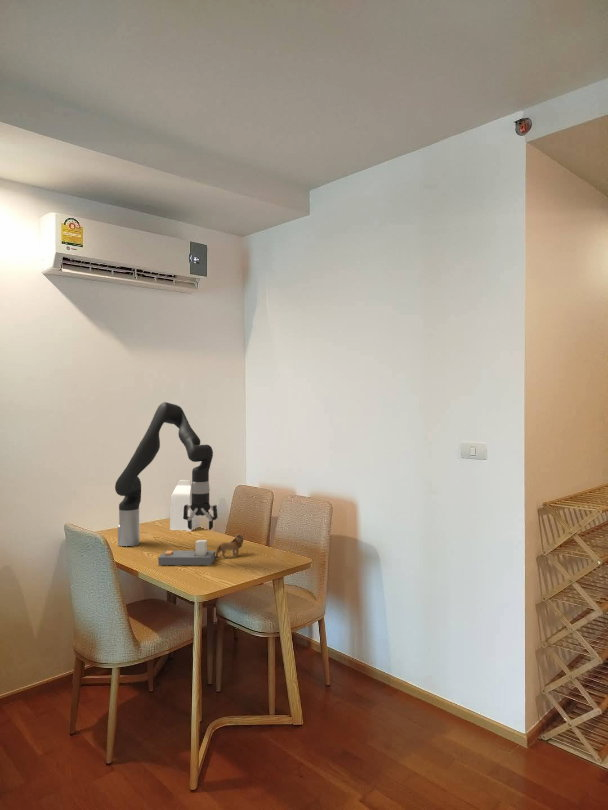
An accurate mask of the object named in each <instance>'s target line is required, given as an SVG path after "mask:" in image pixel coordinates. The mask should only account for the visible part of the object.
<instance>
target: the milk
mask: <svg viewBox="0 0 608 810" xmlns="http://www.w3.org/2000/svg"><path fill="white" fill-rule="evenodd" d="M186 504H187V505H191V504H192V480H190V479H188V480H187V479H180V480H178V482H177V484H176V486H175V488H174V490H173V492H172V493H171V499H170V523H169V530H170V531H171V530H181V531H180V532H183V531H182V530H186V531H185V532H190V531H191V530H193V529H194V530H196V529H197V528H196V527H198V528H200V526H201V524H200V523H201V522H200V515H198V516H196V515H194V516H193V518H192V519H191V520H192V529H191V530H190V529H189V528H188V521H187V520H186V519H183V514H184V506H185V505H186ZM192 512H193V511H192V510H191V508H189V510H188V516H190V515H191V514H192ZM195 528H196V529H195ZM194 530H193V531H194ZM191 532H192V531H191Z"/></svg>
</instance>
